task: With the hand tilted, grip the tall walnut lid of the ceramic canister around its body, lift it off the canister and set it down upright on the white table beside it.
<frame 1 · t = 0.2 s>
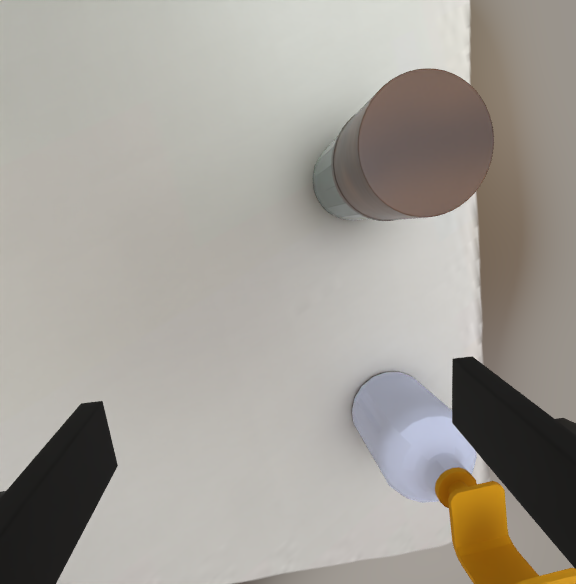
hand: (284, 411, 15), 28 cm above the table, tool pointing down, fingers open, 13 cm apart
canister: (351, 180, 41), on the table
lid: (385, 164, 31), point 10 cm above the table, touching canister
soap bottle: (388, 406, 46), on the table
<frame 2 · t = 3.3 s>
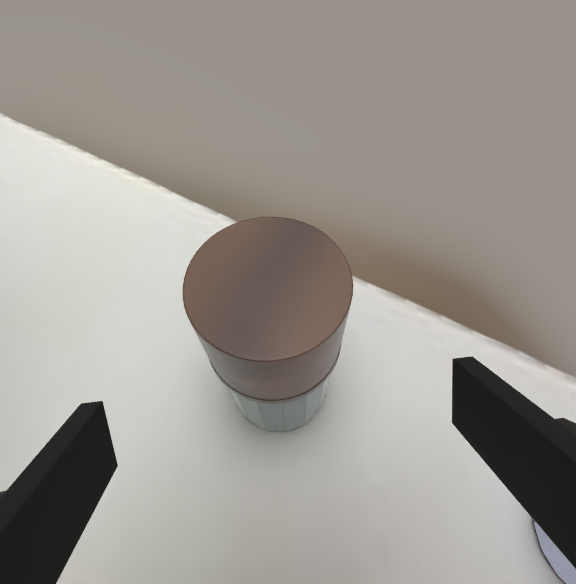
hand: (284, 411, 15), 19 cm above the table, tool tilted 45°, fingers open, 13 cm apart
canister: (279, 384, 35), on the table
lid: (274, 338, 27), point 10 cm above the table, touching canister
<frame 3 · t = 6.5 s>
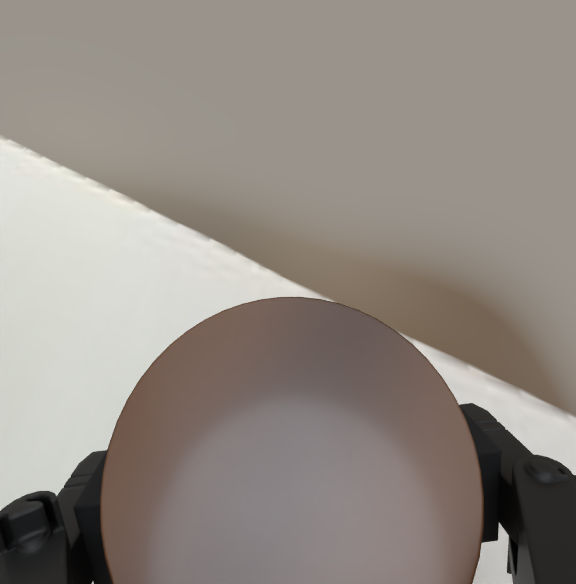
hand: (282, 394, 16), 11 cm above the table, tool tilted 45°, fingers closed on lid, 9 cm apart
lid: (292, 485, 15), point 10 cm above the table, touching canister, gripper
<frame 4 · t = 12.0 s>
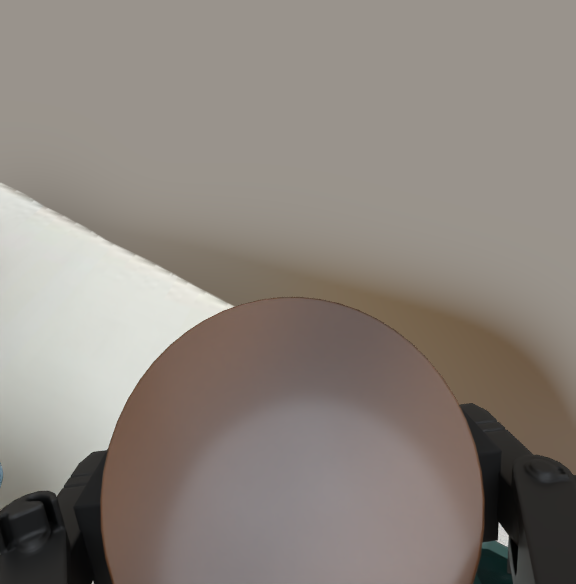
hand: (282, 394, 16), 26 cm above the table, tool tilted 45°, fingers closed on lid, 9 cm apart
lid: (293, 485, 15), point 25 cm above the table, touching gripper
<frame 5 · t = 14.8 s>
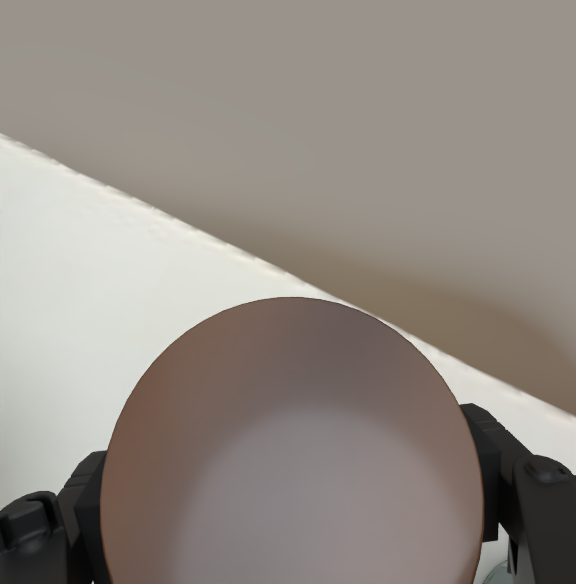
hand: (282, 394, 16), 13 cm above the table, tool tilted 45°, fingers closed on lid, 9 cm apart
lid: (292, 485, 15), point 12 cm above the table, touching gripper
when the fingers open (3 cm above the table, at t = 17.6 s): lid stays where it is, point 2 cm above the table.
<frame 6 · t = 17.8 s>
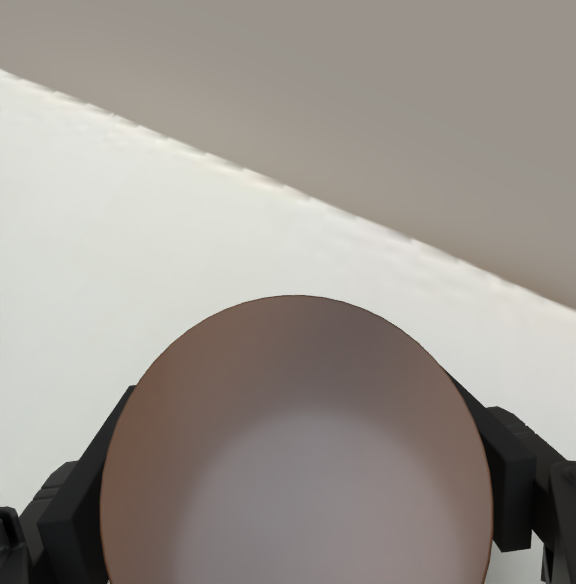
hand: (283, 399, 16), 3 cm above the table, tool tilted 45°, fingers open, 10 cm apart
lid: (295, 487, 15), point 2 cm above the table
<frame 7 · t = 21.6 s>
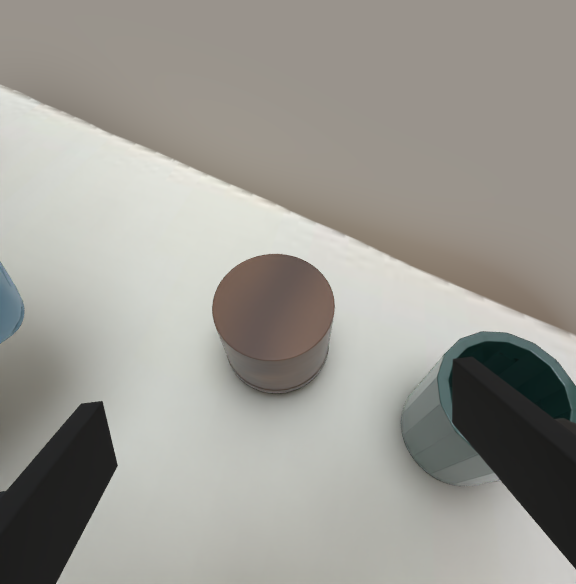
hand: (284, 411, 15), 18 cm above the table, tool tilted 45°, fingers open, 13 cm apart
canister: (451, 430, 32), on the table
lid: (277, 343, 34), point 2 cm above the table
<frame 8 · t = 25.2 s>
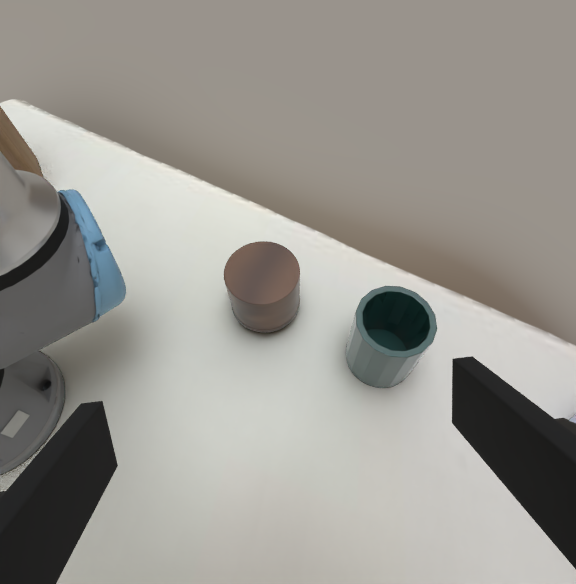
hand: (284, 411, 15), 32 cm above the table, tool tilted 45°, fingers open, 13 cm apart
canister: (378, 355, 49), on the table
lid: (265, 301, 52), point 2 cm above the table
wooden block: (13, 187, 66), on the table
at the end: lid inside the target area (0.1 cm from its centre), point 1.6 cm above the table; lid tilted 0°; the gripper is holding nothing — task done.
